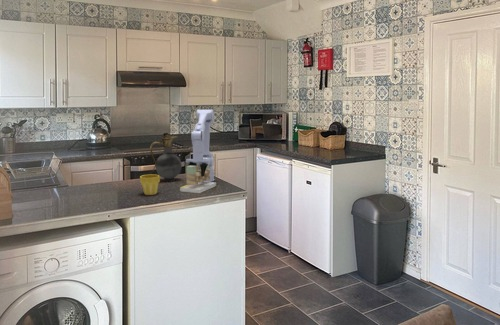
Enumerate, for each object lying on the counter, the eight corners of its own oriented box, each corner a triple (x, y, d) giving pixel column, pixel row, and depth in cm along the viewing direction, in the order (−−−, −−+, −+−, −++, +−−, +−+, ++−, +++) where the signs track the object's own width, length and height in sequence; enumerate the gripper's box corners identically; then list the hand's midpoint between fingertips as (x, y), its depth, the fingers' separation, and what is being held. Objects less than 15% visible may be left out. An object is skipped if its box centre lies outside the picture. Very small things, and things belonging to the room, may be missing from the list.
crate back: (202, 168, 250) (202, 161, 250) (208, 169, 249) (208, 162, 248) (199, 169, 247) (199, 162, 246) (205, 170, 245) (205, 163, 244)
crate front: (190, 172, 238) (189, 165, 237) (196, 172, 236) (196, 165, 236) (186, 173, 234) (186, 166, 233) (192, 174, 233) (192, 167, 232)
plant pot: (139, 192, 233) (138, 174, 232) (158, 190, 237) (158, 173, 236) (141, 196, 224) (141, 178, 222) (161, 195, 228) (161, 177, 226)
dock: (198, 184, 254) (198, 180, 254) (216, 185, 250) (216, 182, 249) (180, 191, 236) (180, 187, 236) (199, 193, 231) (199, 189, 231)
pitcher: (184, 180, 264) (182, 132, 259) (153, 183, 255) (151, 133, 250) (178, 177, 274) (177, 131, 269) (149, 180, 265) (147, 132, 260)
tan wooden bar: (202, 178, 251) (202, 168, 250) (210, 179, 249) (209, 169, 248) (186, 184, 235) (186, 173, 234) (194, 185, 233) (194, 174, 232)
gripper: (183, 152, 238) (183, 176, 241) (205, 153, 233) (206, 178, 235) (189, 150, 245) (190, 173, 247) (211, 152, 239) (212, 175, 242)
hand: (198, 175), depth 242 cm, fingers closed on tan wooden bar, 5 cm apart
